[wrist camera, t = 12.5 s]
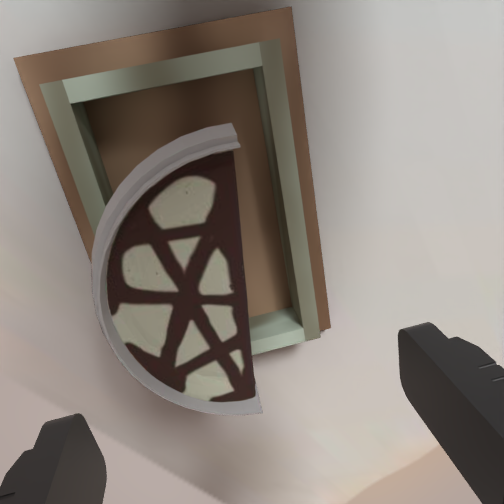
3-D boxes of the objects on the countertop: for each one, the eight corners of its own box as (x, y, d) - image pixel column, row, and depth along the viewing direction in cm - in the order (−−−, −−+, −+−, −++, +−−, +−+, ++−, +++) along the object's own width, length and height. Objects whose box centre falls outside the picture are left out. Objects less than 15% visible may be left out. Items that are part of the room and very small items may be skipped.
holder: (287, 9, 21) (306, -5, 18) (326, 322, 29) (345, 350, 26) (19, 59, 20) (-11, 53, 17) (136, 371, 28) (130, 407, 25)
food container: (98, 122, 21) (34, 146, 12) (214, 112, 22) (239, 127, 13) (140, 322, 26) (118, 449, 17) (235, 308, 27) (263, 422, 17)
